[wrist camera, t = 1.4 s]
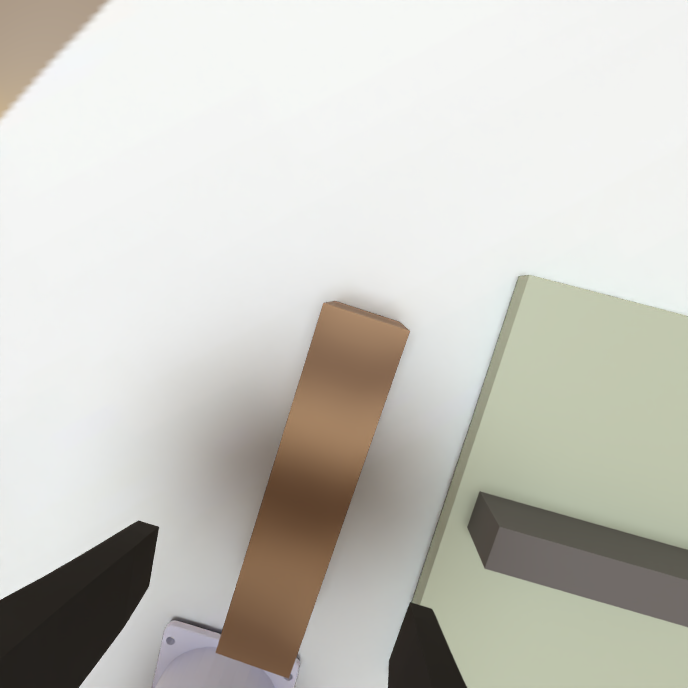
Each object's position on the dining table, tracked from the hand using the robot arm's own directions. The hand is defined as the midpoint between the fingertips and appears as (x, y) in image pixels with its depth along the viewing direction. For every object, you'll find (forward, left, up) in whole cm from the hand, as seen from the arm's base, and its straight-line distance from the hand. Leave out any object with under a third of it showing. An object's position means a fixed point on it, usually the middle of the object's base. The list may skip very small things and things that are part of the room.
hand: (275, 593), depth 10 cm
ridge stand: (0, -14, -10) cm, 17 cm away
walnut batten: (0, 0, -10) cm, 10 cm away
